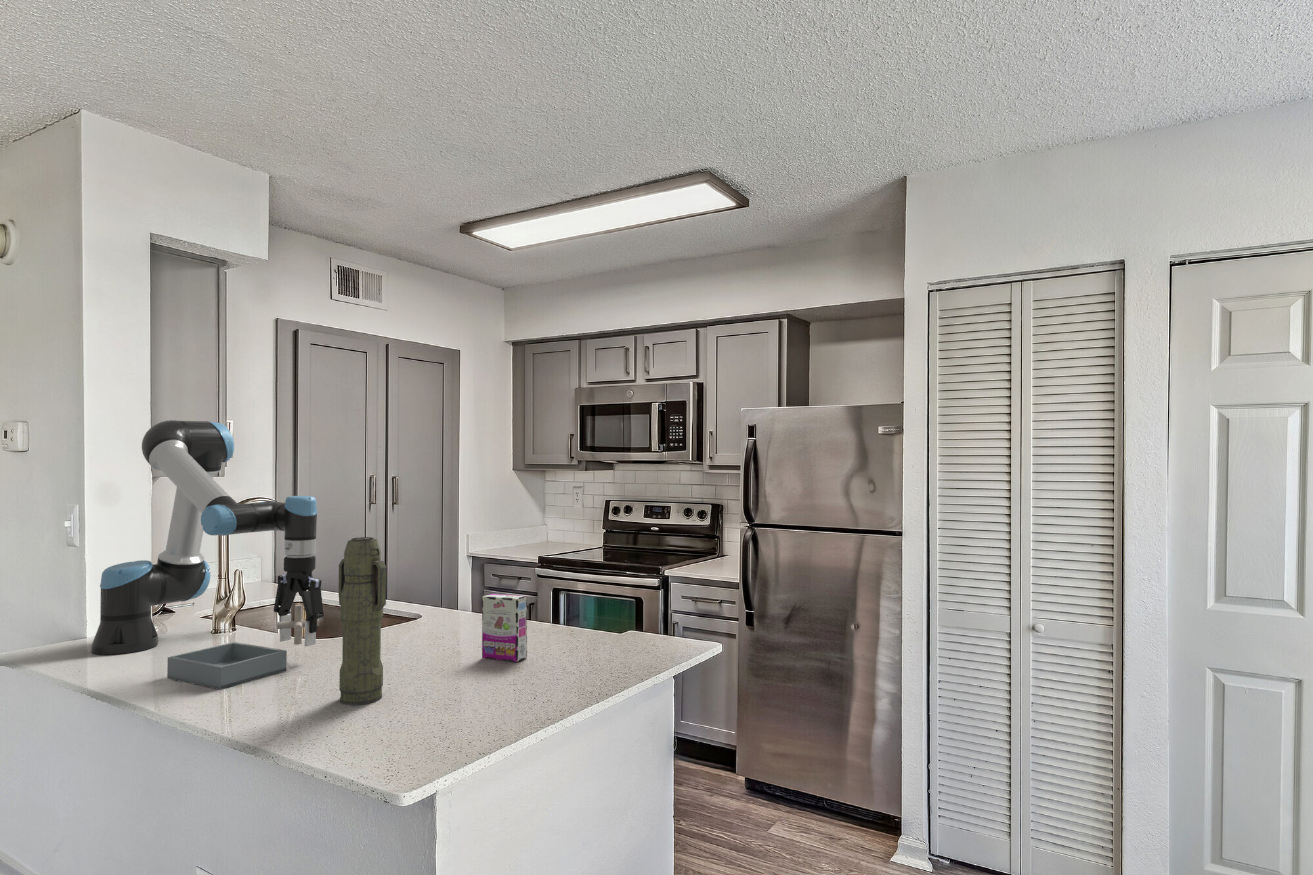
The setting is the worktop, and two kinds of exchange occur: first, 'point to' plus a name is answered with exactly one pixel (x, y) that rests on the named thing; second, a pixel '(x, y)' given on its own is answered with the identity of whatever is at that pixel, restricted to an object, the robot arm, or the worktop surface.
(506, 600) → the candy bar box
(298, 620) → the pipe connector
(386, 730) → the worktop surface
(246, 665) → the bin
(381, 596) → the thermos
